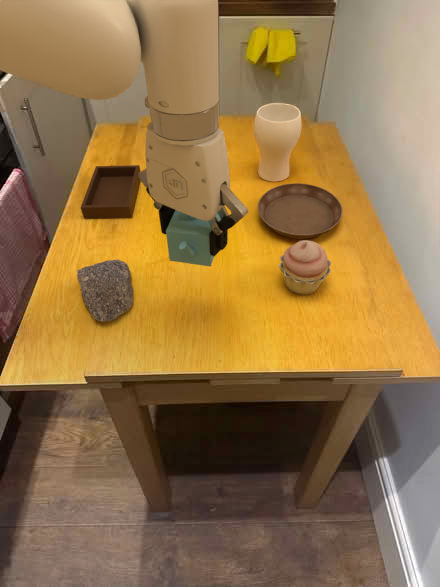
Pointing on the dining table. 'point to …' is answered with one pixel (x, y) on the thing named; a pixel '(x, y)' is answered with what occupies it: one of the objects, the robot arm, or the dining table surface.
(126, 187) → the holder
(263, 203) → the plant saucer
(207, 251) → the teapot
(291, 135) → the cup
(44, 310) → the dining table surface
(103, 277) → the rock
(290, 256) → the cupcake
